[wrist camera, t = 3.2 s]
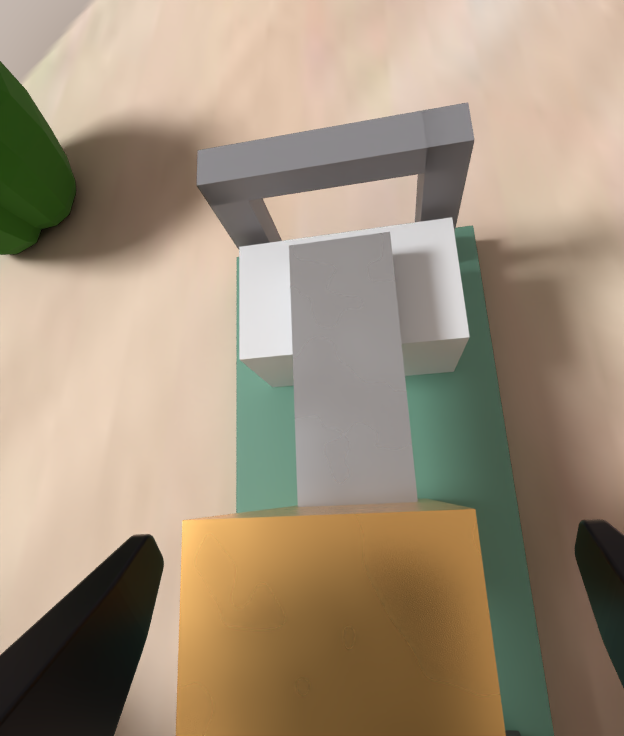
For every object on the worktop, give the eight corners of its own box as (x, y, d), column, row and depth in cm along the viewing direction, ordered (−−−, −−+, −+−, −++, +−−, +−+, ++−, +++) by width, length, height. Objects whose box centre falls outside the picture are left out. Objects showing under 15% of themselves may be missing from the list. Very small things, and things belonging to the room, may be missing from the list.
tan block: (437, 593, 15) (514, 793, 5) (316, 594, 16) (174, 774, 6) (405, 299, 18) (414, 54, 8) (304, 310, 18) (195, 97, 9)
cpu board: (556, 811, 14) (740, 1178, 7) (248, 792, 16) (108, 1069, 8) (468, 240, 20) (512, 81, 12) (245, 270, 21) (160, 146, 14)
